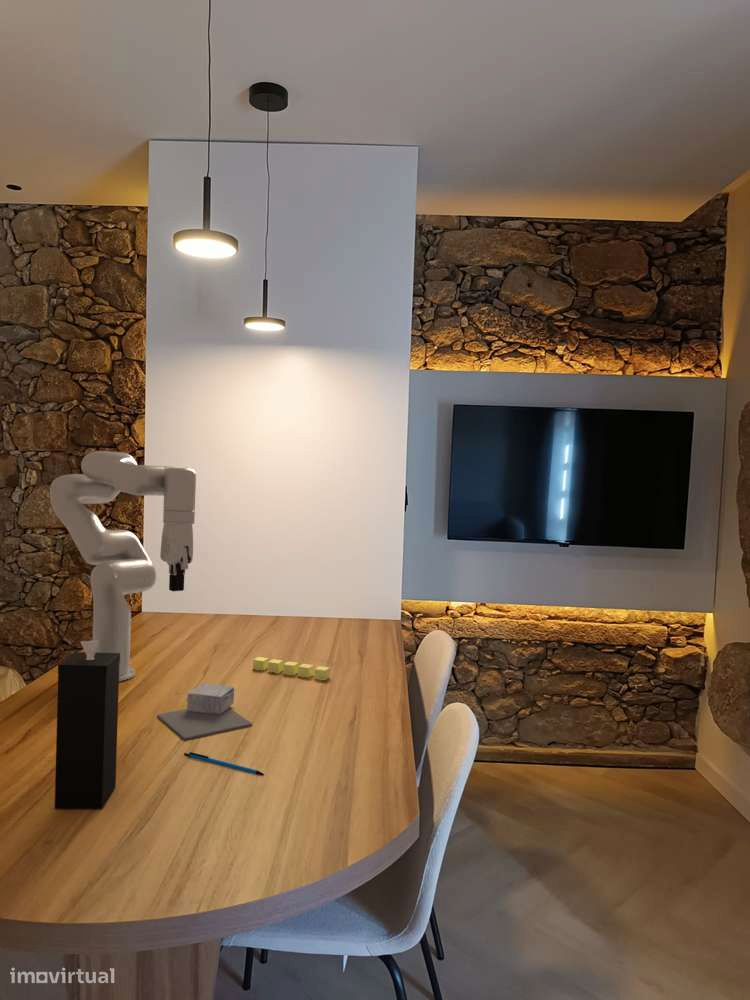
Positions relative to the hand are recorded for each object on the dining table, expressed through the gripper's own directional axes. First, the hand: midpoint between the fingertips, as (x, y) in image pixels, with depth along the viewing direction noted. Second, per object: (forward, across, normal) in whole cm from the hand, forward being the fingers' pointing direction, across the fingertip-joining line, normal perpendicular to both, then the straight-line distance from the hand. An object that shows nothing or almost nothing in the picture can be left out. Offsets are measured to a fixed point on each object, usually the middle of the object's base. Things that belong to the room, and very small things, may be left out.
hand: (176, 590), depth 169 cm
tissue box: (+27, +42, -32) cm, 59 cm away
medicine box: (+24, +10, +1) cm, 26 cm away
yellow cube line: (+28, -4, +37) cm, 46 cm away
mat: (+27, +19, 0) cm, 33 cm away
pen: (+28, +42, -6) cm, 51 cm away
